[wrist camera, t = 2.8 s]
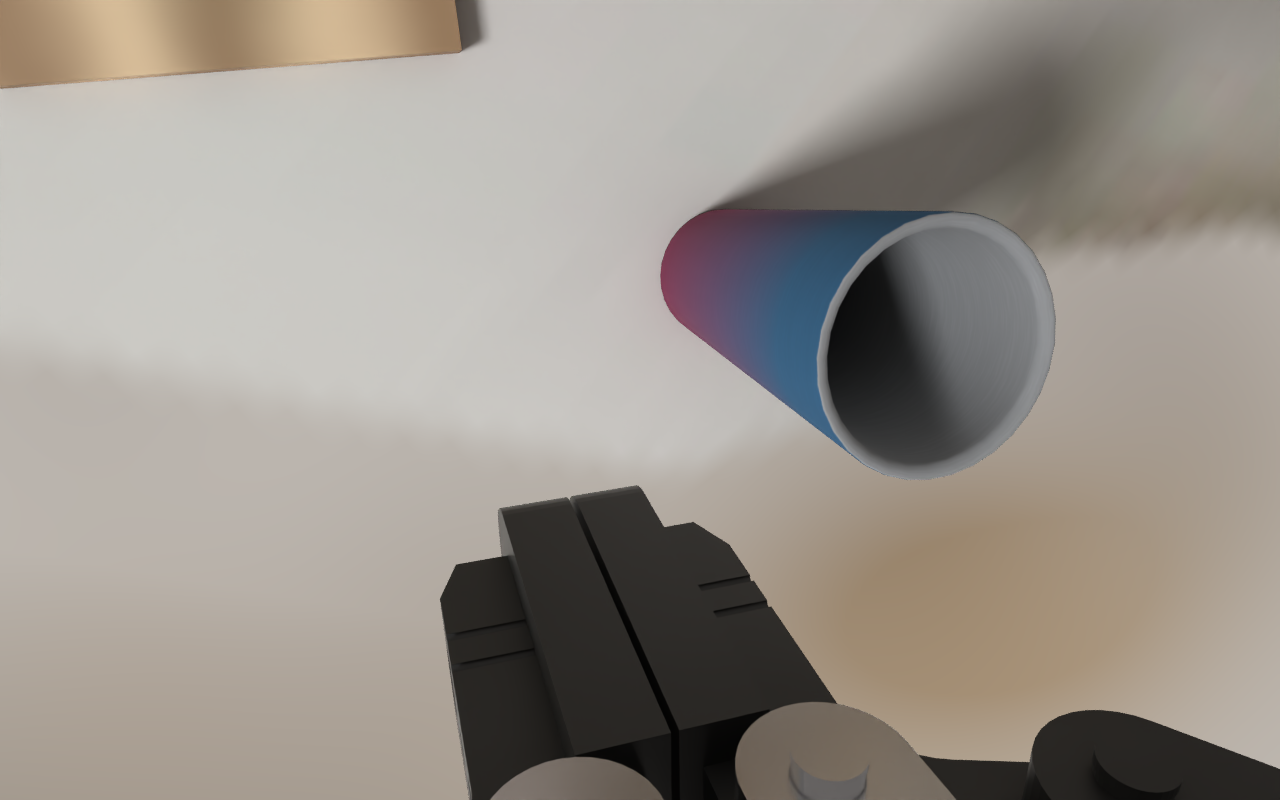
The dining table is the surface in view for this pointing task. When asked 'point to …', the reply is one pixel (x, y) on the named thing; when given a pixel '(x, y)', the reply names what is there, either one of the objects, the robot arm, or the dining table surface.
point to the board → (209, 36)
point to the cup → (874, 324)
